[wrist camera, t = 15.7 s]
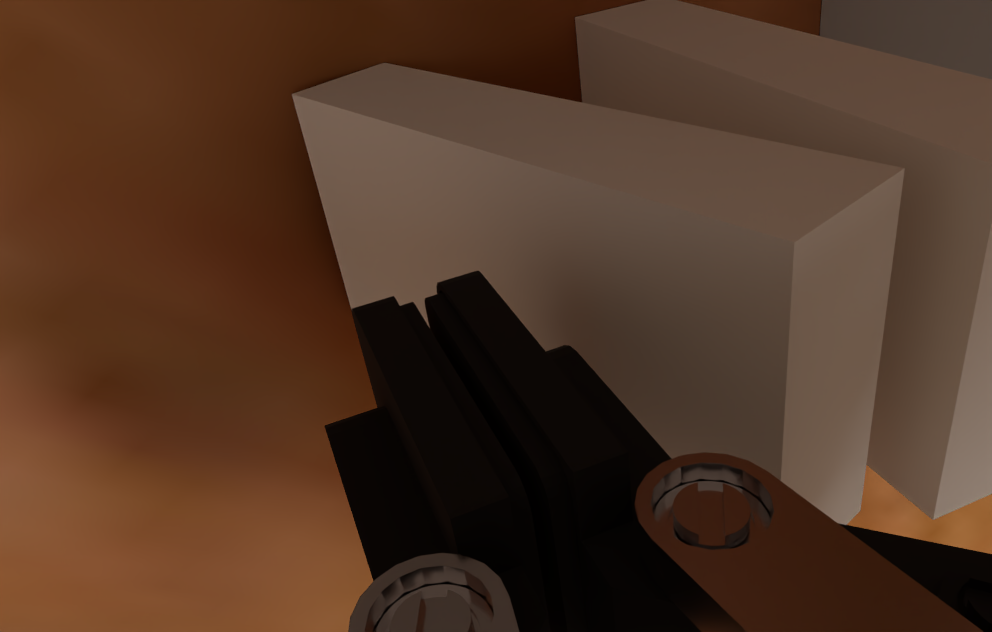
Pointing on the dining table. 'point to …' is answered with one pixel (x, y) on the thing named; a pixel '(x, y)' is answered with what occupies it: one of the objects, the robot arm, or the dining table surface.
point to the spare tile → (917, 30)
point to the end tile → (630, 255)
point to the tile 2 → (864, 135)
